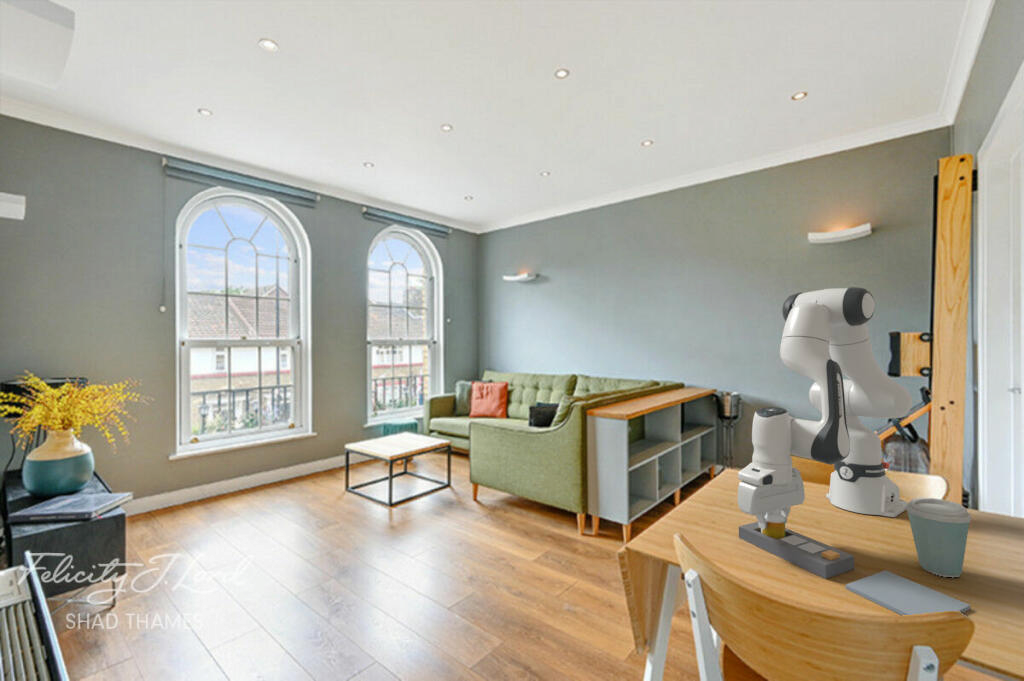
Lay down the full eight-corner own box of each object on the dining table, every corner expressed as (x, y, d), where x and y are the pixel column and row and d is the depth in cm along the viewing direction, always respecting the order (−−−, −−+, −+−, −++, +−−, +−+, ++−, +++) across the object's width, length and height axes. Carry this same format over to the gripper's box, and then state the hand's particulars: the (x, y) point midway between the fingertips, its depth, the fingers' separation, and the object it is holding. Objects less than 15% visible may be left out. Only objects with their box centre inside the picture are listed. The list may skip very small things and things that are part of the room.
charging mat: (885, 573, 98) (885, 570, 98) (970, 609, 85) (970, 605, 85) (845, 588, 92) (845, 584, 92) (929, 628, 79) (929, 624, 79)
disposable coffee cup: (958, 588, 91) (956, 516, 91) (896, 564, 101) (894, 499, 101) (983, 576, 96) (981, 508, 96) (921, 555, 105) (920, 492, 105)
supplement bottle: (789, 549, 109) (788, 510, 109) (765, 547, 110) (764, 509, 110) (780, 539, 115) (780, 502, 115) (758, 538, 116) (757, 501, 116)
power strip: (765, 530, 120) (765, 516, 120) (854, 569, 100) (854, 552, 100) (738, 537, 116) (738, 523, 116) (825, 579, 96) (825, 561, 96)
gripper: (787, 463, 119) (788, 514, 119) (732, 473, 112) (733, 527, 112) (811, 469, 114) (812, 523, 114) (755, 480, 106) (756, 538, 106)
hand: (772, 525), depth 113 cm, fingers closed on supplement bottle, 5 cm apart
